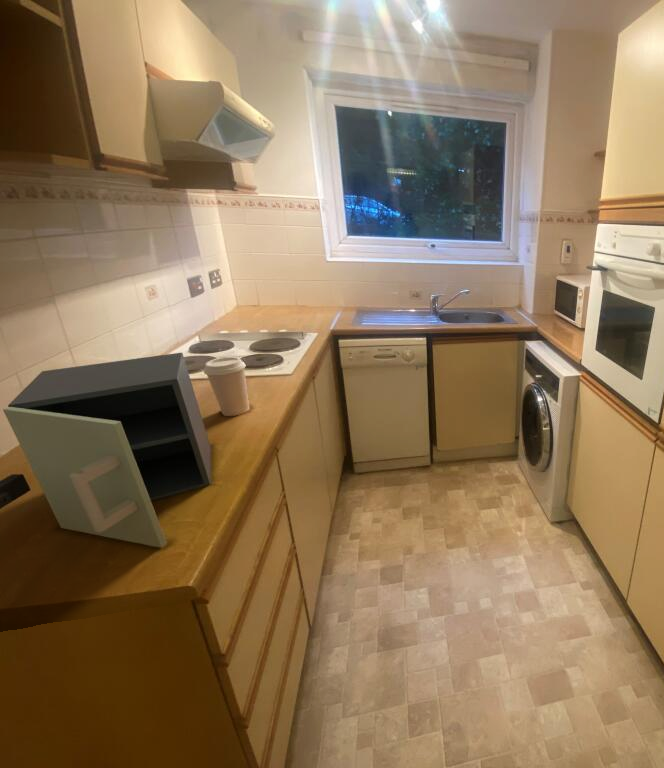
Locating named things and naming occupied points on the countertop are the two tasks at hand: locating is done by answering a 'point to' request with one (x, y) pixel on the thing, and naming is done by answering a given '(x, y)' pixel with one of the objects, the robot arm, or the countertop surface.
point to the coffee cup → (229, 384)
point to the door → (87, 474)
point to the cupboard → (136, 414)
